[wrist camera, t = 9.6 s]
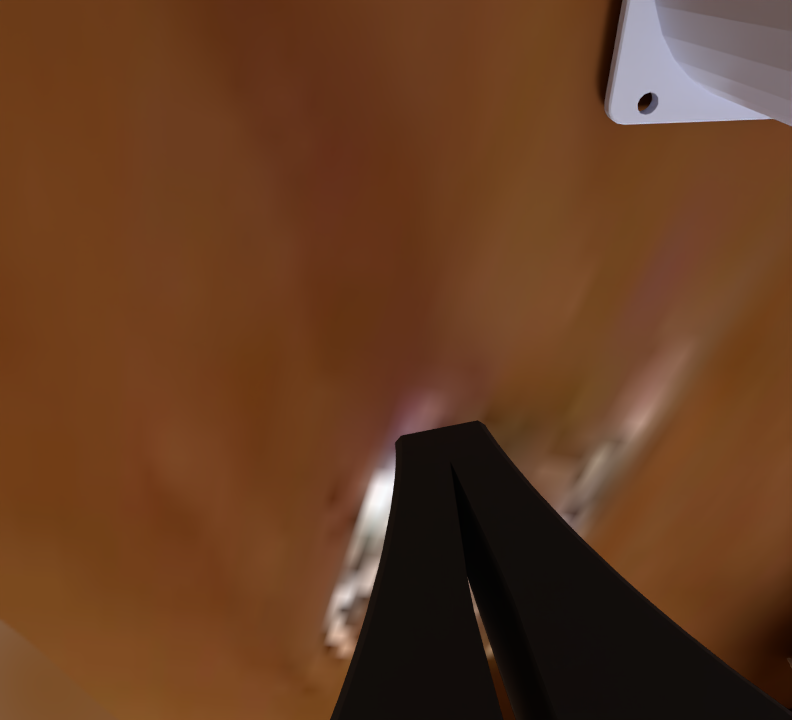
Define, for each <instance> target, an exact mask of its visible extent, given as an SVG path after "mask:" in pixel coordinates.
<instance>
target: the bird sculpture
mask: <svg viewBox="0 0 792 720" xmlns="http://www.w3.org/2000/svg"><path fill="white" fill-rule="evenodd" d="M787 660H788V662H789V664H790V666H791V668H792V658H787Z"/></svg>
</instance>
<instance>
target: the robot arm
mask: <svg viewBox="0 0 792 720" xmlns="http://www.w3.org/2000/svg"><path fill="white" fill-rule="evenodd" d="M650 92H651V94H652V101H651V103H650V105H649V106H648V107H647V108H646V109H645V110H642V111H638V102H639V100H640V98H641V97H642V96H643V95H644V94H646V93H650ZM605 112H606V114H607V116H608V117H609V118H610V119H611V120H613V121H614V122H616V123H618V124H623V125H626V124H652V123H678V122H703V121H729V120H755V119H775V120H778V121H780V122H782V123H785V124H787V125H790V126H792V0H622V6H621V12H620V17H619V23H618V29H617V34H616V40H615V46H614V51H613V57H612V63H611V68H610V74H609V80H608V85H607V91H606V97H605ZM395 447H396V468H395V480H394V488H393V496H392V503H391V509H390V515H389V520H388V525H387V530H386V535H385V540H384V545H383V550H382V555H381V559H380V563H379V567H378V571H377V575H376V578H375V582H374V586H373V590H372V593H371V597H370V601H369V605H368V609H367V612H366V616H365V619H364V622H363V626H362V629H361V632H360V635H359V639H358V642H357V645H356V648H355V651H354V654H353V657H352V660H351V663H350V666H349V669H348V672H347V675H346V678H345V681H344V684H343V686H342V689H341V692H340V695H339V698H338V701H337V703H336V706H335V708H334V711H333V714H332V716H331V719H330V720H503V717H502V713H501V710H500V706H499V702H498V699H497V695H496V691H495V688H494V684H493V680H492V677H491V673H490V669H489V665H488V661H487V658H486V654H485V650H484V646H483V643H482V639H481V635H480V631H479V628H478V624H477V620H476V616H475V613H474V608H473V603H472V598H471V593H470V588H469V583H470V586H471V589H472V592H473V595H474V598H475V601H476V604H477V607H478V610H479V613H480V616H481V619H482V622H483V625H484V627H485V630H486V633H487V636H488V639H489V642H490V645H491V648H492V651H493V654H494V657H495V660H496V663H497V665H498V668H499V671H500V674H501V677H502V680H503V683H504V686H505V689H506V692H507V695H508V698H509V701H510V704H511V706H512V709H513V712H514V715H515V718H516V720H792V712H791V711H790V710H788V709H787V708H785V707H784V706H783V705H781V704H780V703H779V702H777V701H776V700H774V699H773V698H772V697H770V696H769V695H768V694H766V693H765V692H764V691H762V690H761V689H759V688H758V687H757V686H755V685H754V684H753V683H751V682H750V681H748V680H747V679H746V678H744V677H743V676H742V675H740V674H739V673H737V672H736V671H735V670H734V669H732V668H731V667H730V666H728V665H727V664H726V663H725V662H723V661H722V660H721V659H720V658H718V657H717V656H716V655H715V654H713V653H712V652H711V651H710V650H708V649H707V648H706V647H705V646H703V645H702V644H701V643H700V642H698V641H697V640H696V639H695V638H693V637H692V636H691V635H689V634H688V633H687V632H686V631H684V630H683V629H682V628H681V627H680V626H679V625H677V624H676V623H675V622H674V621H673V620H671V619H670V618H669V617H668V616H667V615H665V614H664V613H663V612H662V611H661V610H660V609H658V608H657V607H656V606H655V605H654V604H652V603H651V602H650V601H649V600H648V599H647V598H645V597H644V596H643V595H642V594H641V593H640V592H639V591H638V590H636V589H635V588H634V587H633V586H632V585H631V584H630V583H629V582H628V581H626V580H625V579H624V578H623V577H622V576H621V575H620V574H619V573H618V572H617V571H615V570H614V569H613V568H612V567H611V566H610V565H609V564H608V563H607V562H606V561H605V560H604V559H603V558H602V557H601V556H600V555H599V554H598V553H597V552H596V551H595V550H593V549H592V548H591V547H590V546H589V545H588V544H587V543H586V542H585V541H584V540H583V539H582V538H581V537H580V536H579V535H578V534H577V533H576V532H575V531H574V530H573V529H572V528H571V527H570V526H569V525H568V524H567V523H566V521H565V520H564V519H563V518H562V517H561V516H560V515H559V514H558V513H557V512H556V511H555V510H554V509H553V508H552V507H551V505H550V504H549V503H548V502H547V501H546V500H545V499H544V498H543V497H542V496H541V495H540V494H539V493H538V491H537V490H536V489H535V488H534V487H533V486H532V485H531V484H530V482H529V481H528V480H527V479H526V478H525V477H524V475H523V474H522V473H521V472H520V471H519V469H518V468H517V467H516V466H515V465H514V463H513V462H512V461H511V460H510V458H509V457H508V456H507V455H506V453H505V452H504V451H503V450H502V448H501V447H500V446H499V444H498V443H497V442H496V440H495V439H494V437H493V436H492V435H491V433H490V432H489V430H488V429H487V427H486V426H485V425H484V424H483V423H481V422H479V421H478V420H477V421H472V422H467V423H462V424H457V425H452V426H447V427H442V428H437V429H432V430H427V431H422V432H417V433H412V434H407V435H402V436H400V438H399V439H398V440H397V441H396V442H395ZM467 577H468V578H467ZM468 580H469V583H468Z"/></svg>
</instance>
